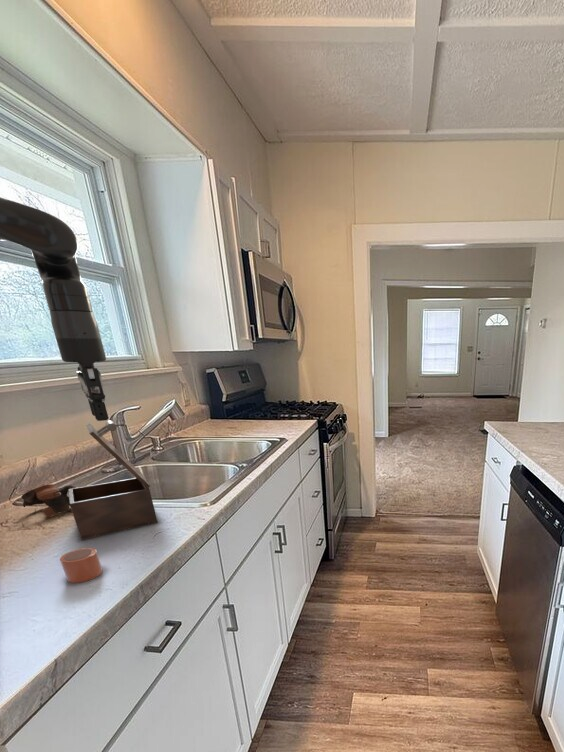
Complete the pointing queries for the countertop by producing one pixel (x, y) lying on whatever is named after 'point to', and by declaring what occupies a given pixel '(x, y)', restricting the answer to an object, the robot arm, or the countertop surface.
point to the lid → (113, 451)
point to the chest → (111, 507)
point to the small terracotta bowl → (81, 565)
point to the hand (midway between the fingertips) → (100, 417)
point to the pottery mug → (49, 498)
